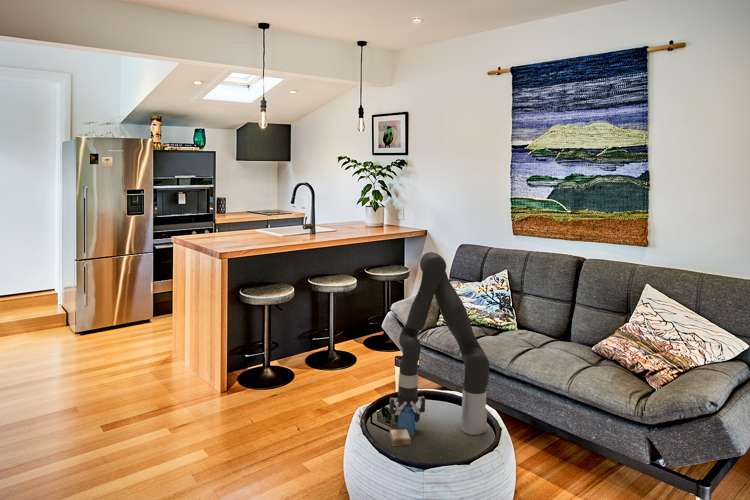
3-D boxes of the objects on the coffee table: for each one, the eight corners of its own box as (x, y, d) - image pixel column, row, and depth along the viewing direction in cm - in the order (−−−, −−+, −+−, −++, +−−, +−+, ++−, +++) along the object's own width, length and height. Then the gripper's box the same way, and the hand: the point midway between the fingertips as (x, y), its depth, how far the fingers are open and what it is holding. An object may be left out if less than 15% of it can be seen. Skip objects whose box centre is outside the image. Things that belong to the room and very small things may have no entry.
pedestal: (407, 435, 212) (407, 428, 212) (410, 445, 205) (411, 437, 205) (389, 436, 211) (389, 429, 211) (392, 446, 204) (392, 439, 204)
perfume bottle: (413, 435, 212) (414, 406, 210) (397, 433, 214) (398, 405, 211) (415, 427, 218) (416, 399, 216) (399, 425, 220) (400, 398, 217)
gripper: (423, 378, 217) (422, 416, 220) (388, 380, 215) (387, 418, 218) (428, 386, 210) (426, 426, 213) (391, 388, 208) (390, 427, 211)
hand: (406, 422), depth 215 cm, fingers closed on perfume bottle, 7 cm apart
